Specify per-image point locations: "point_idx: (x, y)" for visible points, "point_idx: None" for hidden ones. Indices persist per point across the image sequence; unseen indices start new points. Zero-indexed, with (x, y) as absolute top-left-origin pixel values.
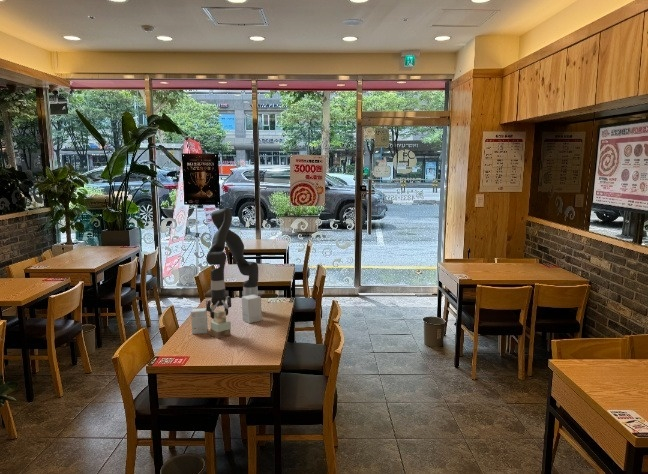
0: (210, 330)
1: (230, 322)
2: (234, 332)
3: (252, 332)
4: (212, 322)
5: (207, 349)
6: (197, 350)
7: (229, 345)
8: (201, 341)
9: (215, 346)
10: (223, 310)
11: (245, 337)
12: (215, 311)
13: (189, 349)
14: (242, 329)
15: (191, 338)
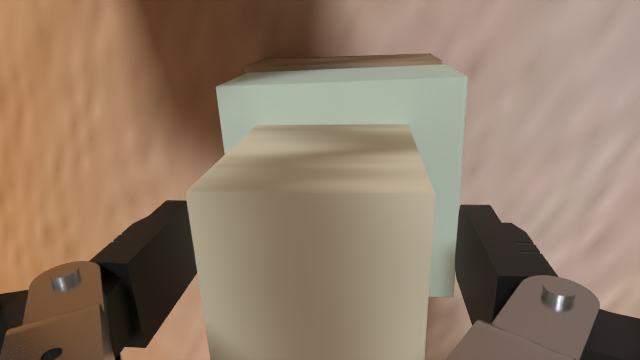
0: (249, 65)
1: (449, 292)
2: (503, 162)
3: (631, 287)
4: (228, 144)
5: (125, 357)
6: None
7: None
8: (128, 174)
9: (193, 348)
10: (424, 307)
11: None
12: (227, 250)
13: (6, 272)
14: (637, 132)
15: (60, 19)
